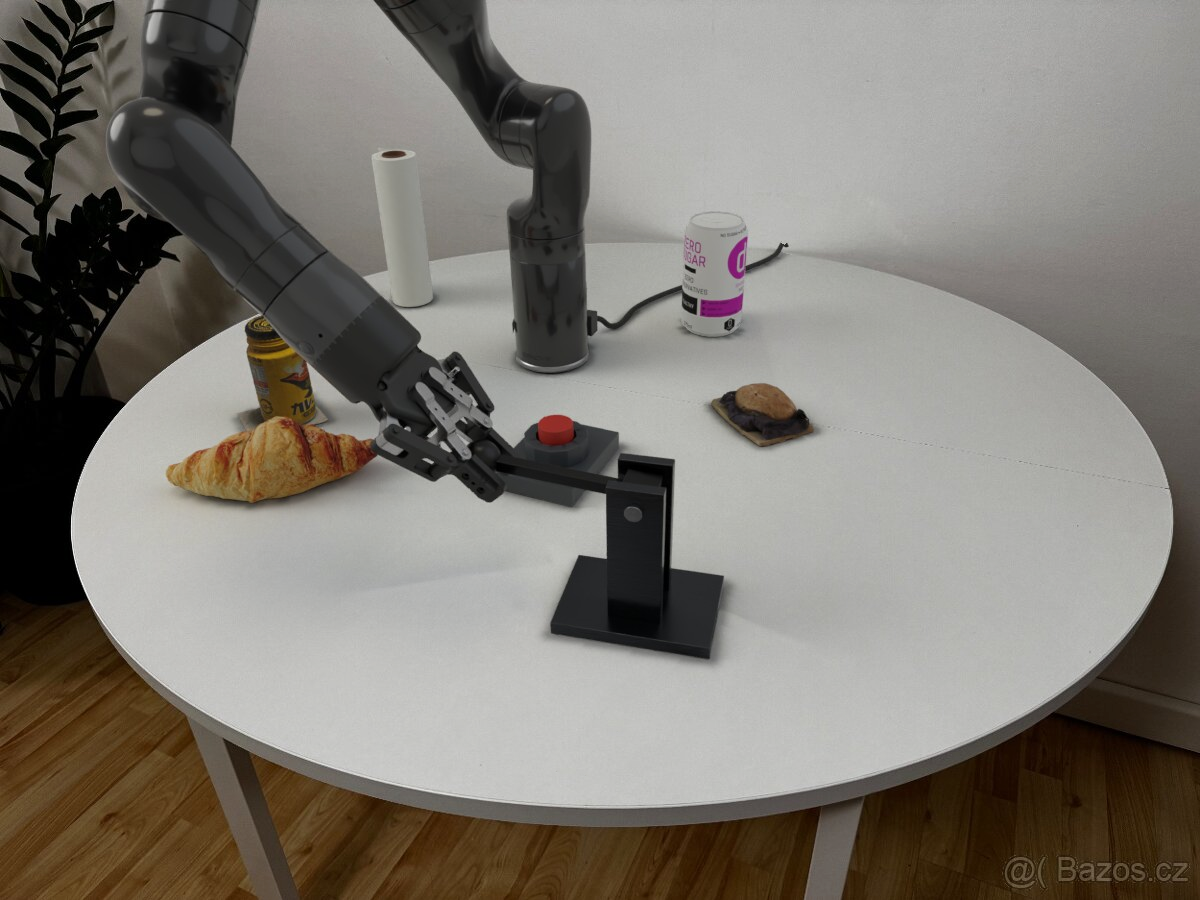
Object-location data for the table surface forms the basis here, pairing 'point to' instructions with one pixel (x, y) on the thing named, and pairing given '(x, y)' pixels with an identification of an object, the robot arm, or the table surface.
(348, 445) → the croissant
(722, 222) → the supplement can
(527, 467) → the lever
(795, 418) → the brown rounded layered piece
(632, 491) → the bracket
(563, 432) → the button
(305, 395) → the condiment
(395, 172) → the paper towel roll
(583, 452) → the control block
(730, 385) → the table surface
